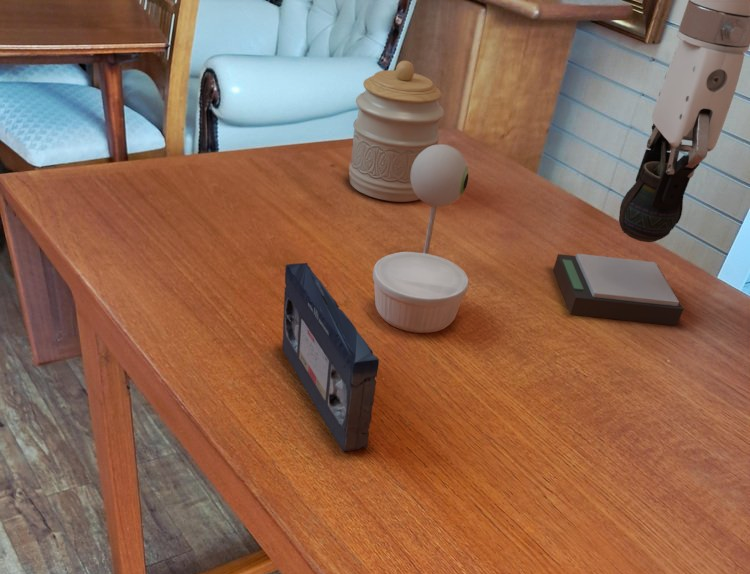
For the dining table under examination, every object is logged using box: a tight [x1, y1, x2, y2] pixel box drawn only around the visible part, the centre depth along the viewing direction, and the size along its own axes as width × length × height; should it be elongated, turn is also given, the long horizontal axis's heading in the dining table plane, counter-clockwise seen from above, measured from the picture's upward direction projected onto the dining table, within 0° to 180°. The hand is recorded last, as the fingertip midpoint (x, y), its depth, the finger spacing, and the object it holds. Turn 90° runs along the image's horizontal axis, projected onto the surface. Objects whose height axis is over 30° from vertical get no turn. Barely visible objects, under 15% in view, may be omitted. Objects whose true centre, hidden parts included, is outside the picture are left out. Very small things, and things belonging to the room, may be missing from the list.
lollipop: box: [410, 143, 469, 254], centre depth 100 cm, size 7×7×15 cm
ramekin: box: [372, 251, 469, 334], centre depth 93 cm, size 11×11×5 cm
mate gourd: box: [618, 140, 685, 243], centre depth 95 cm, size 7×8×10 cm
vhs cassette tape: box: [282, 262, 380, 452], centre depth 76 cm, size 18×3×10 cm, turn 22°
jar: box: [348, 60, 445, 203], centre depth 117 cm, size 13×13×18 cm
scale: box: [552, 252, 685, 327], centre depth 103 cm, size 14×12×3 cm
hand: (655, 194), depth 95 cm, fingers closed on mate gourd, 6 cm apart
